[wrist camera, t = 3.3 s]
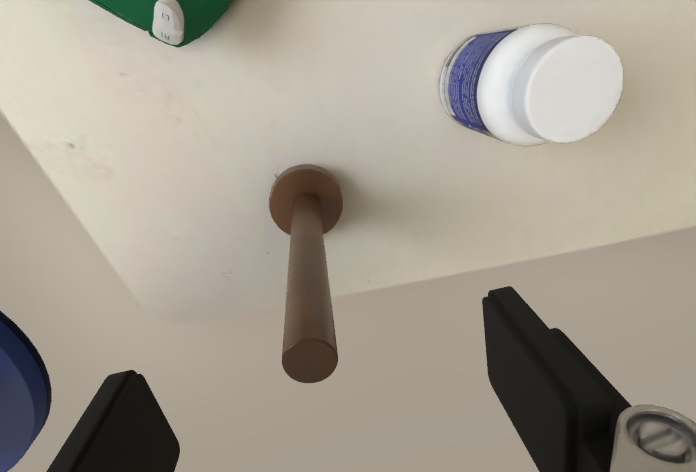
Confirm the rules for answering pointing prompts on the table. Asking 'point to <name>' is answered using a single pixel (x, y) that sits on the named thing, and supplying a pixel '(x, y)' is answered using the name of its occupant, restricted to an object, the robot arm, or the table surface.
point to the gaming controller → (169, 17)
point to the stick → (307, 269)
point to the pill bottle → (532, 84)
